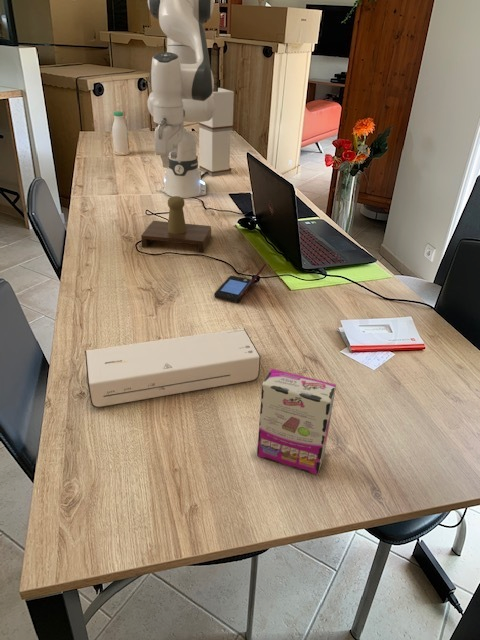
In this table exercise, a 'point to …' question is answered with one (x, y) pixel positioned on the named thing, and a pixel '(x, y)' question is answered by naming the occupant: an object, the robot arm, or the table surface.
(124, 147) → the milk bottle
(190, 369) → the laminator
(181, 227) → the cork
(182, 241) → the desk riser
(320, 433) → the candy bar box
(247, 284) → the handheld console
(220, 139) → the white square pillar
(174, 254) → the table surface
